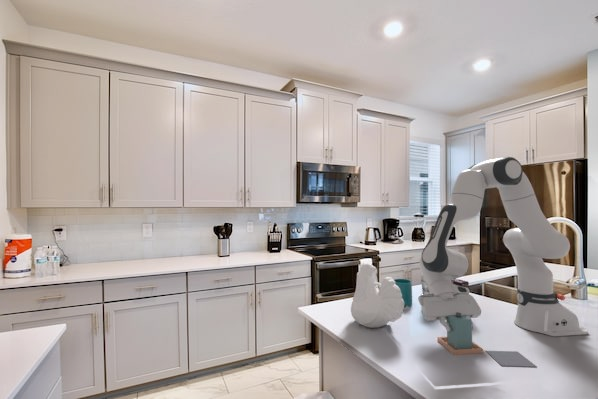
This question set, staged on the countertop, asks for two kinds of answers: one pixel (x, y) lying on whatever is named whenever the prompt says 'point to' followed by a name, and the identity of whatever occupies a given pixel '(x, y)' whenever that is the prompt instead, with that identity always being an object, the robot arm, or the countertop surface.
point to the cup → (405, 290)
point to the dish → (463, 351)
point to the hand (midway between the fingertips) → (460, 330)
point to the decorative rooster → (375, 299)
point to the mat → (510, 359)
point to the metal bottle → (424, 286)
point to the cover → (460, 331)
